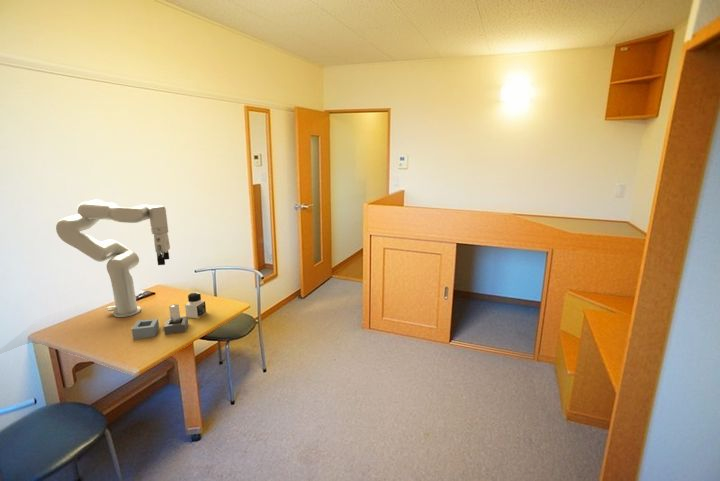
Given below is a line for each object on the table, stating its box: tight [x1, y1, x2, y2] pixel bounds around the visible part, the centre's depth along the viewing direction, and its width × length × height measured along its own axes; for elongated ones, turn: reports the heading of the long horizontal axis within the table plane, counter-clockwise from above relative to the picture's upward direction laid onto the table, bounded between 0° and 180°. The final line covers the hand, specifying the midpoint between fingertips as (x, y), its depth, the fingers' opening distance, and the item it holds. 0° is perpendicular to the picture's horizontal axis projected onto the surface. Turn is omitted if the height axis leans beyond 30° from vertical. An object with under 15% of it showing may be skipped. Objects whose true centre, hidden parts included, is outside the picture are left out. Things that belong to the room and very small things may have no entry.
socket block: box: [131, 318, 160, 340], centre depth 173 cm, size 9×9×5 cm
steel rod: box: [168, 304, 181, 324], centre depth 176 cm, size 4×4×12 cm
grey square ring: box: [163, 315, 189, 335], centre depth 177 cm, size 9×9×4 cm
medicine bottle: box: [184, 292, 207, 319], centre depth 191 cm, size 7×7×12 cm
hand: (163, 262), depth 189 cm, fingers open, 9 cm apart
